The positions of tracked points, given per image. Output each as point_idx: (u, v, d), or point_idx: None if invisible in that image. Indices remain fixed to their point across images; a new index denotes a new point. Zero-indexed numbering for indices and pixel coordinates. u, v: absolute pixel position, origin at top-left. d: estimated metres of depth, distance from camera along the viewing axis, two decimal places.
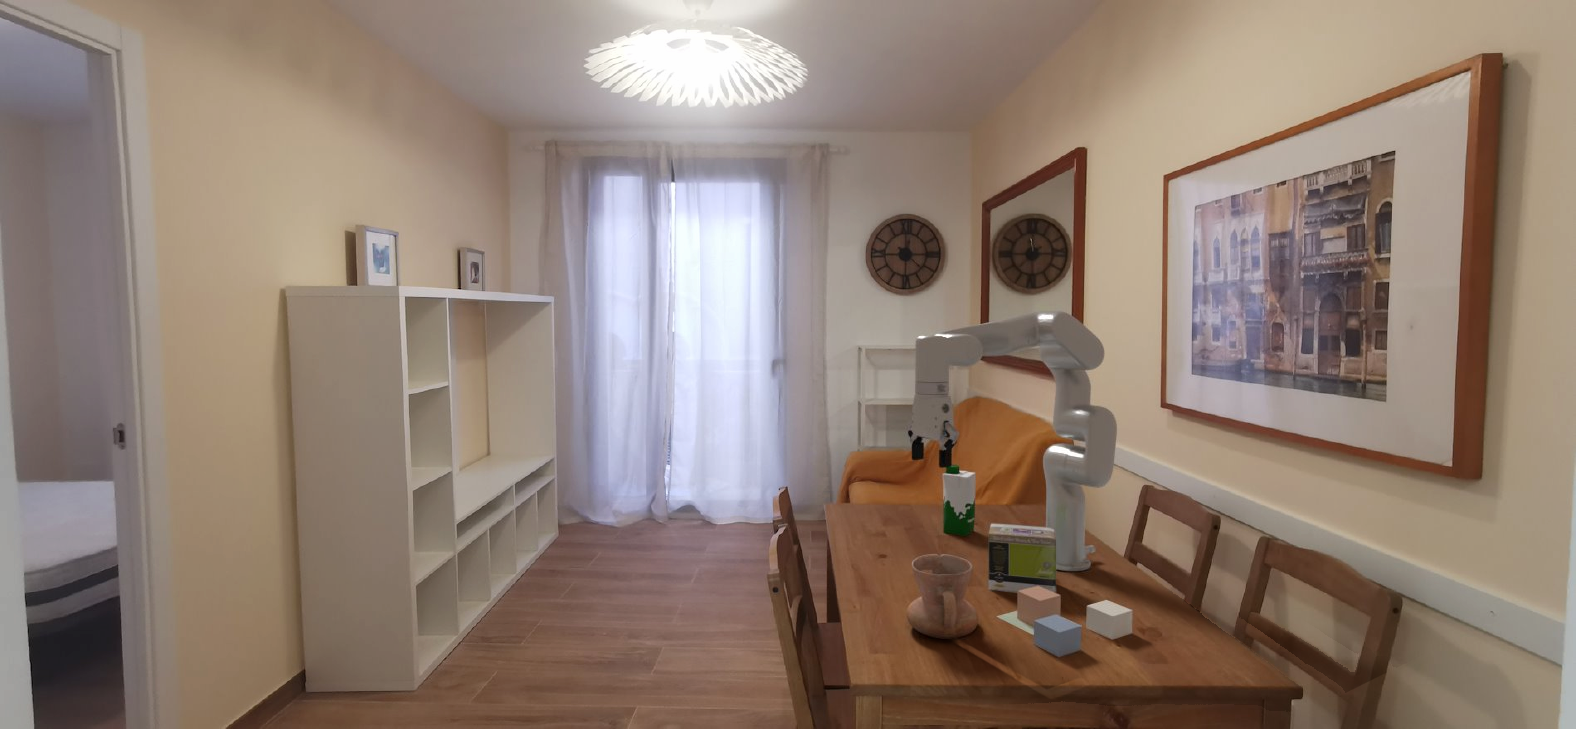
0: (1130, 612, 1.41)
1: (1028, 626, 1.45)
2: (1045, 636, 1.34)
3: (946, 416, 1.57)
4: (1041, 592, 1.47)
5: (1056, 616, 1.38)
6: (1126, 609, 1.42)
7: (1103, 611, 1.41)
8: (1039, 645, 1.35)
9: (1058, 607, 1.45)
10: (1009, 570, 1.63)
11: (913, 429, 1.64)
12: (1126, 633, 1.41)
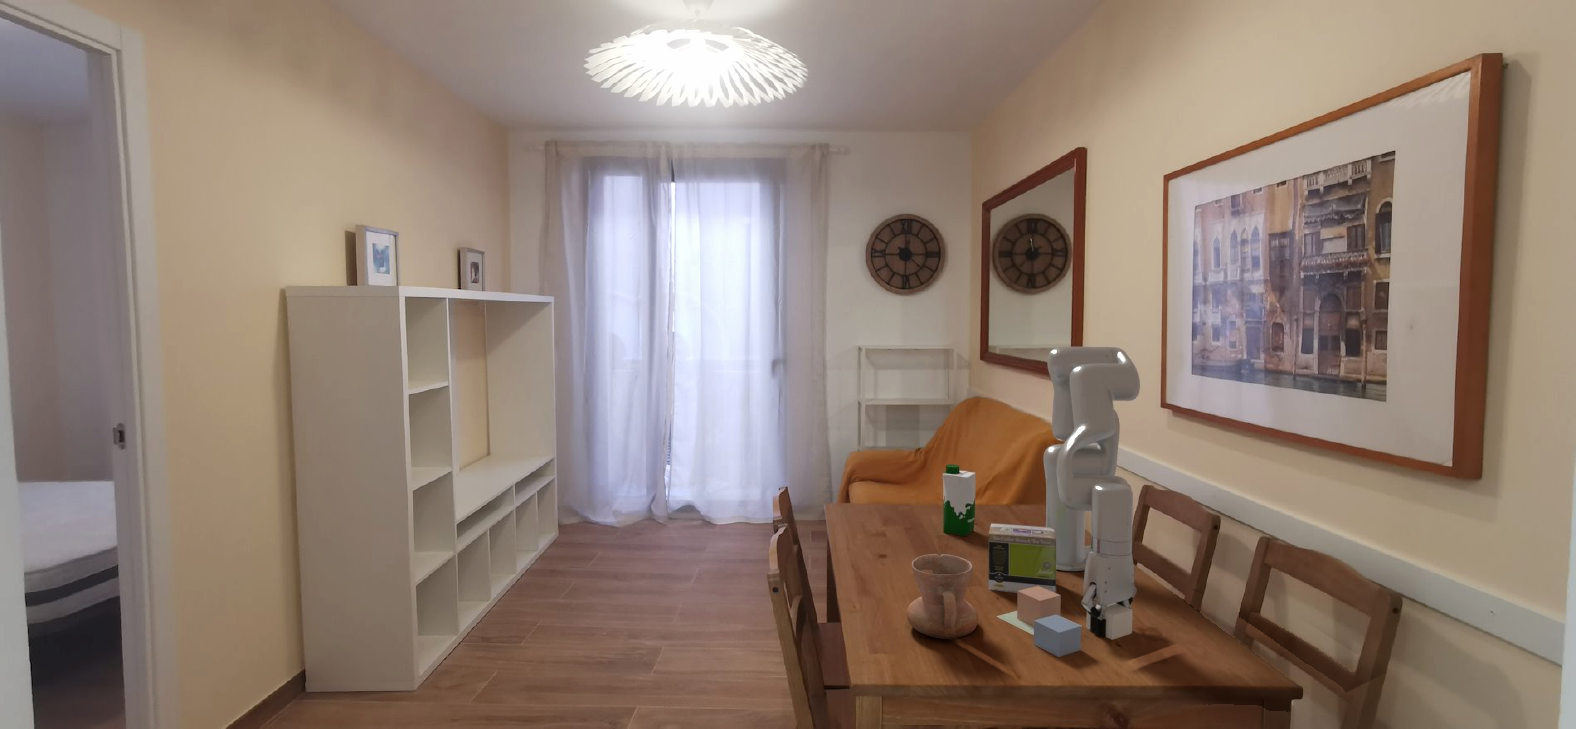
0: (1130, 612, 1.41)
1: (1028, 626, 1.45)
2: (1045, 636, 1.34)
3: None
4: (1041, 592, 1.47)
5: (1057, 616, 1.38)
6: (1126, 609, 1.42)
7: None
8: (1039, 645, 1.36)
9: (1058, 607, 1.45)
10: (1009, 570, 1.63)
11: (1105, 599, 1.38)
12: (1126, 633, 1.41)
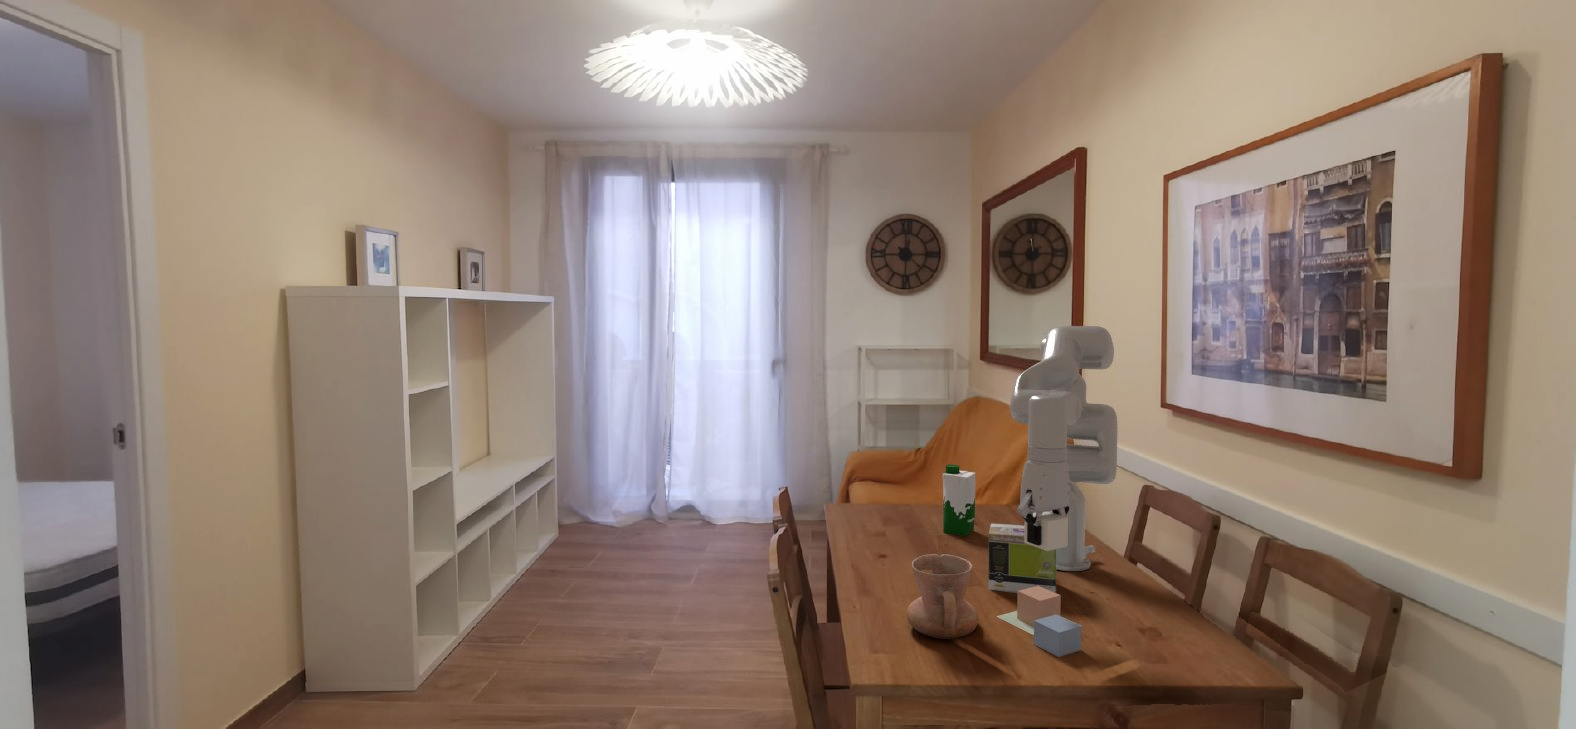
0: (1066, 519, 1.44)
1: (1028, 626, 1.45)
2: (1045, 636, 1.34)
3: None
4: (1041, 592, 1.47)
5: (1057, 616, 1.38)
6: (1062, 517, 1.45)
7: None
8: (1039, 645, 1.36)
9: (1058, 607, 1.45)
10: (1009, 570, 1.63)
11: (1041, 505, 1.42)
12: (1062, 539, 1.44)
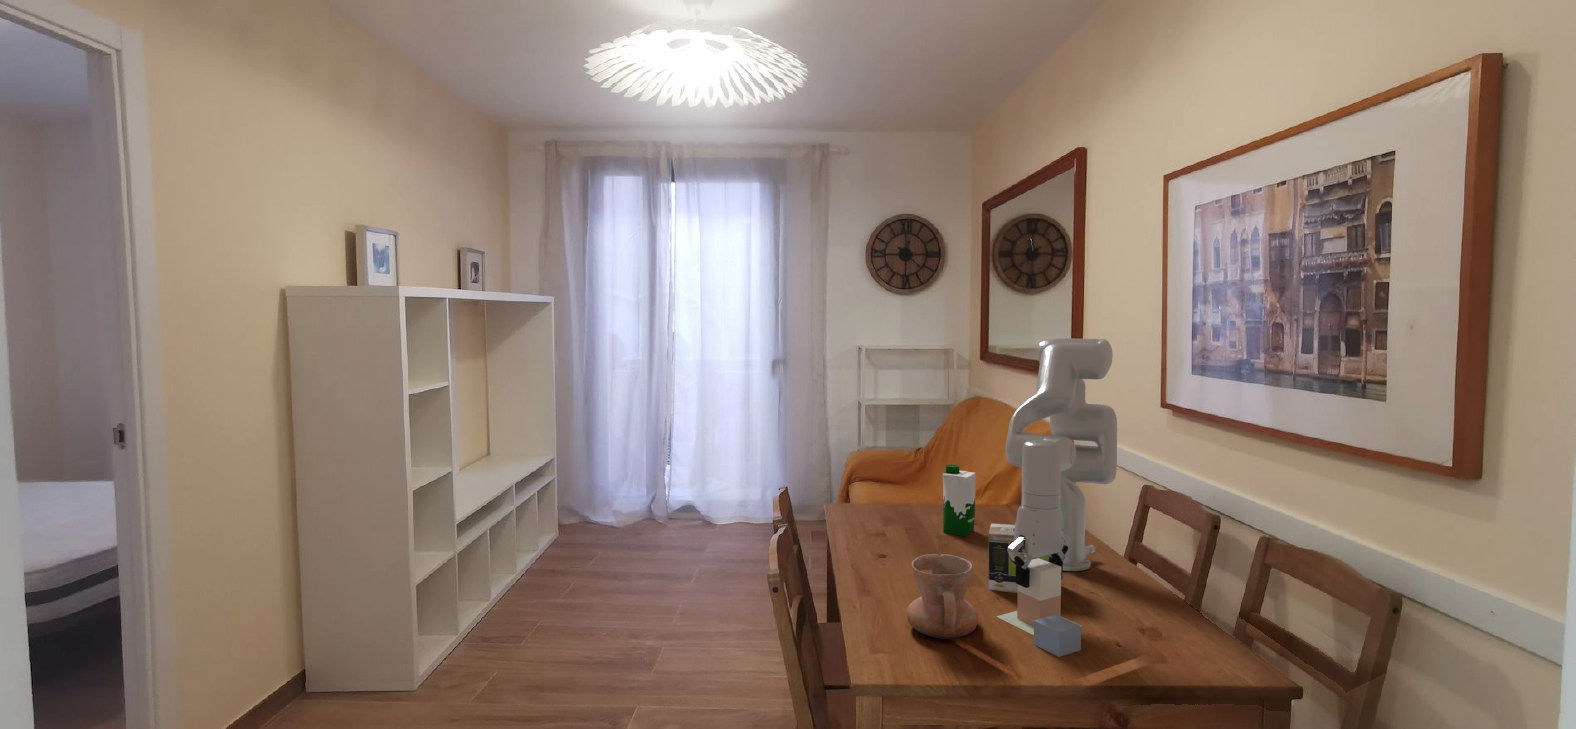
0: (1059, 568, 1.45)
1: (1028, 626, 1.45)
2: (1045, 636, 1.34)
3: None
4: None
5: (1057, 616, 1.38)
6: (1055, 566, 1.46)
7: (1033, 567, 1.45)
8: (1039, 645, 1.36)
9: (1058, 607, 1.45)
10: (1009, 570, 1.63)
11: (1034, 551, 1.43)
12: (1055, 589, 1.45)
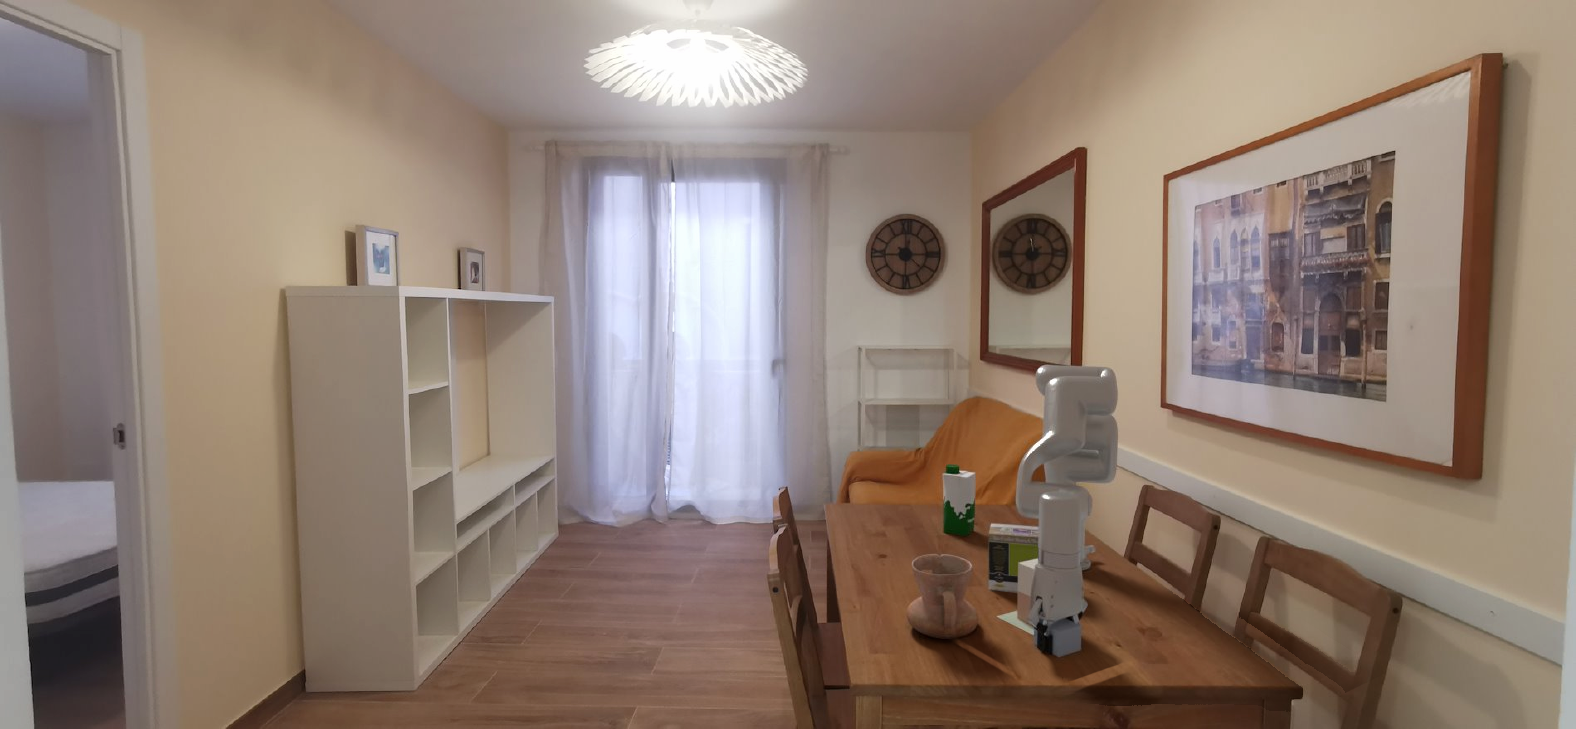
0: None
1: (1028, 626, 1.45)
2: None
3: None
4: None
5: None
6: None
7: (1033, 567, 1.45)
8: None
9: None
10: (1009, 570, 1.63)
11: (1052, 615, 1.31)
12: None
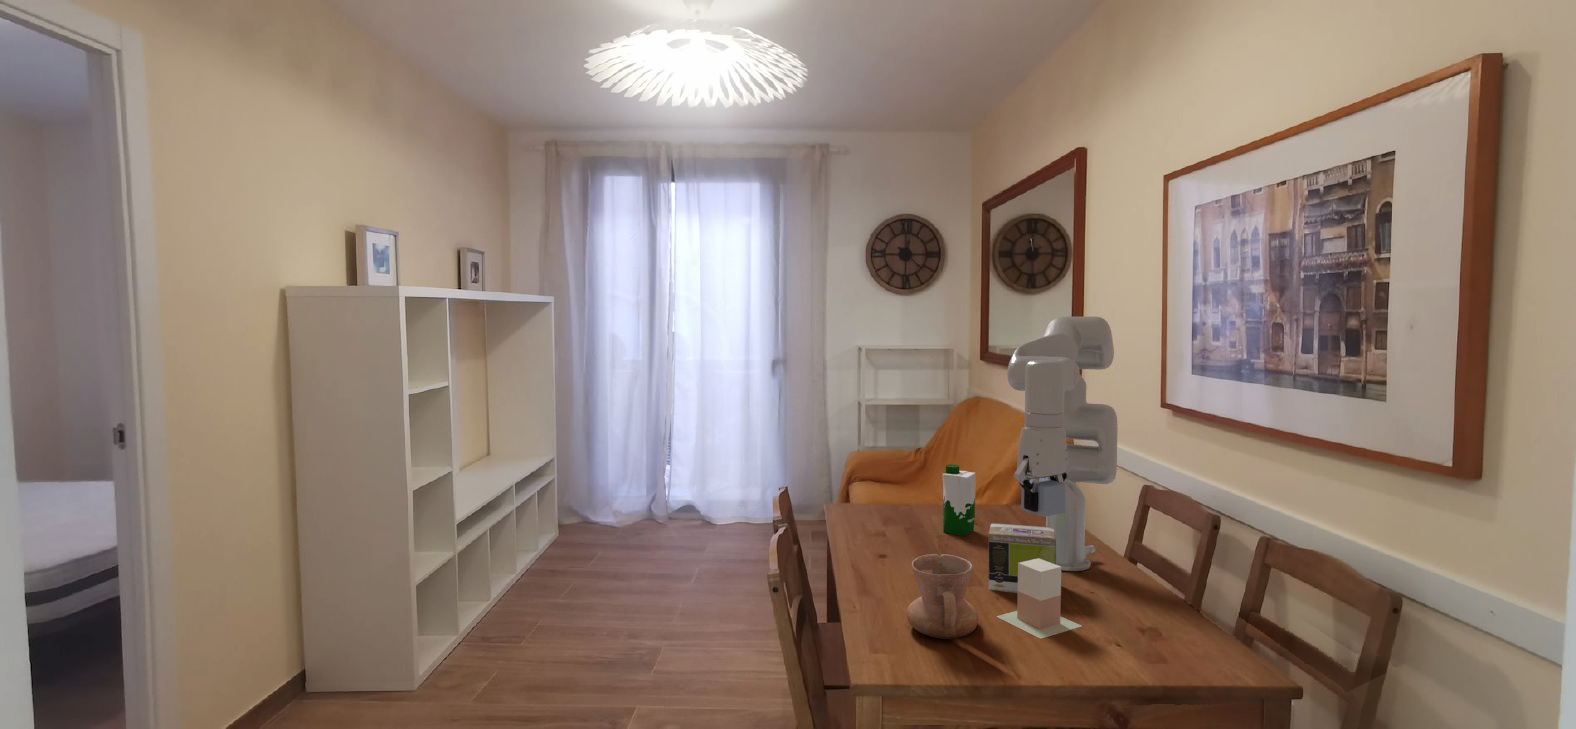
0: (1059, 568, 1.45)
1: (1028, 626, 1.45)
2: None
3: None
4: None
5: (1043, 478, 1.47)
6: (1055, 566, 1.46)
7: (1033, 567, 1.45)
8: None
9: (1058, 607, 1.45)
10: (1009, 570, 1.63)
11: (1037, 471, 1.40)
12: (1055, 589, 1.45)
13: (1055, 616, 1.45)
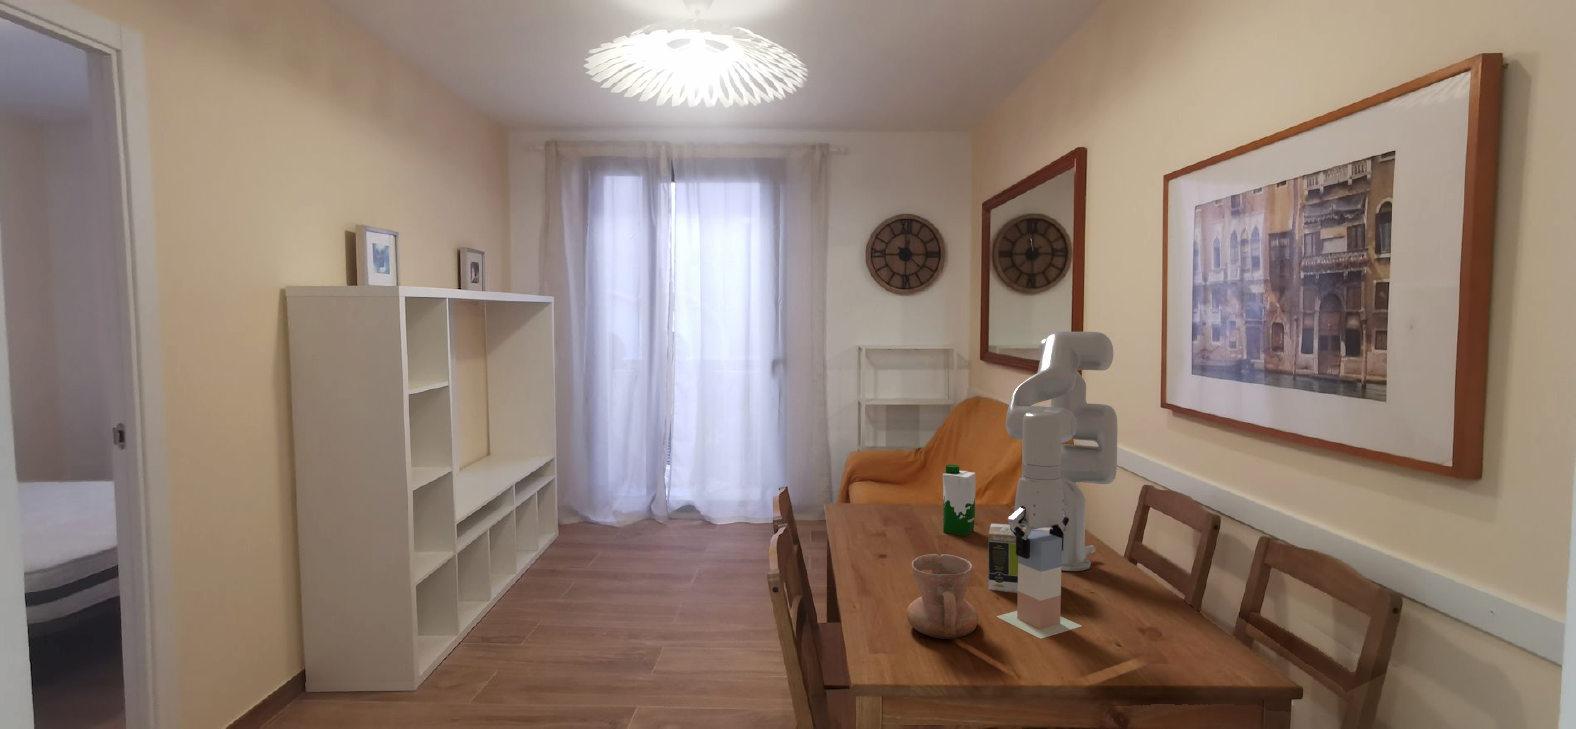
0: (1059, 568, 1.45)
1: (1028, 626, 1.45)
2: None
3: None
4: None
5: (1039, 532, 1.49)
6: None
7: None
8: None
9: (1058, 607, 1.45)
10: (1009, 570, 1.63)
11: (1034, 522, 1.42)
12: (1055, 589, 1.45)
13: (1055, 616, 1.45)
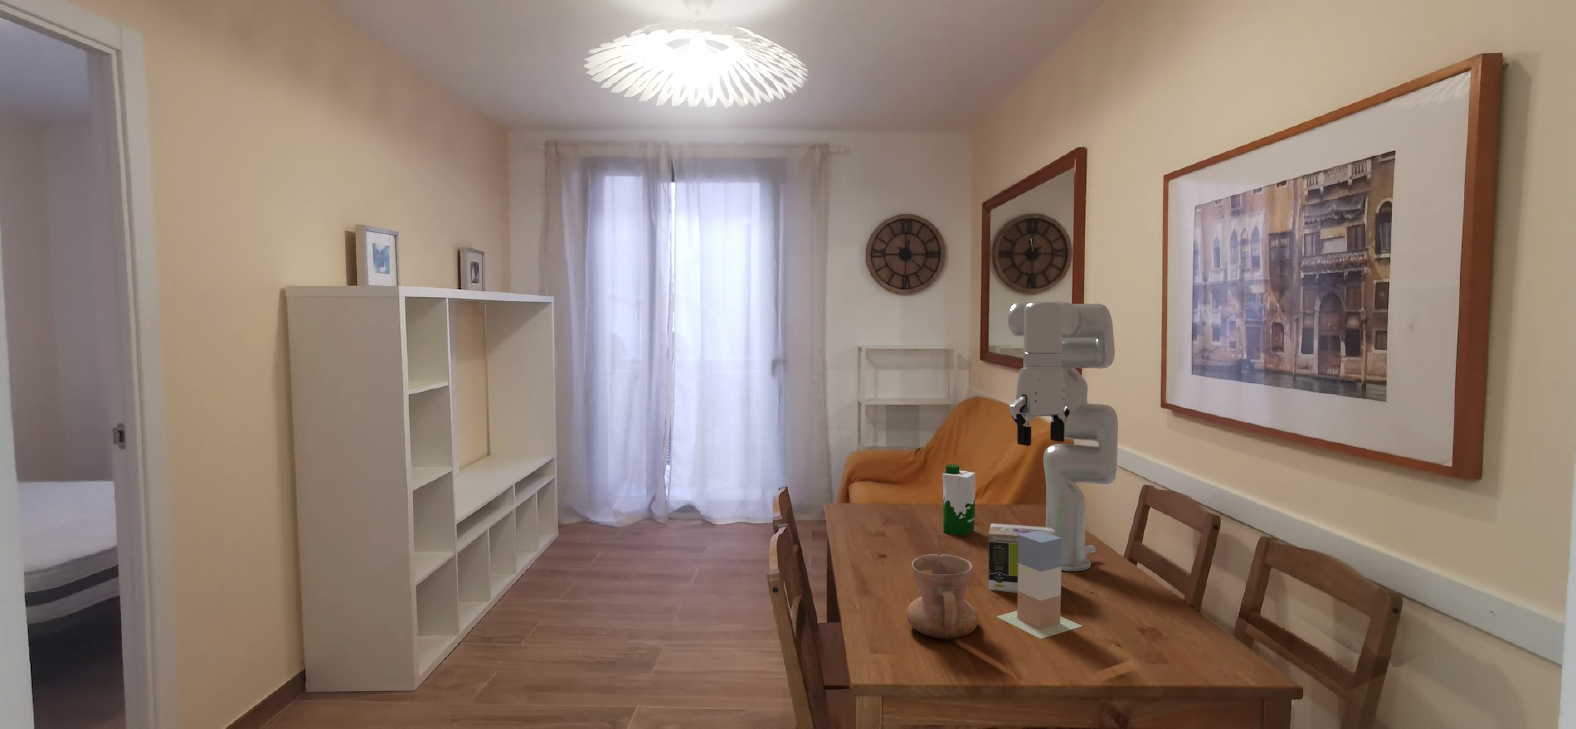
0: (1059, 568, 1.45)
1: (1028, 626, 1.45)
2: (1028, 548, 1.45)
3: None
4: None
5: (1039, 532, 1.49)
6: None
7: None
8: (1023, 557, 1.46)
9: (1058, 607, 1.45)
10: (1009, 570, 1.63)
11: (1035, 409, 1.44)
12: (1055, 589, 1.45)
13: (1055, 616, 1.45)
